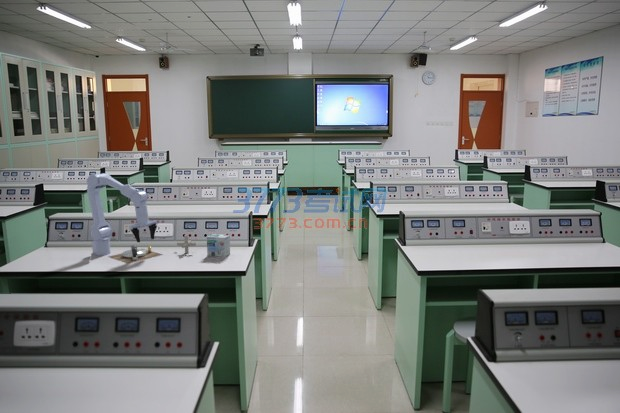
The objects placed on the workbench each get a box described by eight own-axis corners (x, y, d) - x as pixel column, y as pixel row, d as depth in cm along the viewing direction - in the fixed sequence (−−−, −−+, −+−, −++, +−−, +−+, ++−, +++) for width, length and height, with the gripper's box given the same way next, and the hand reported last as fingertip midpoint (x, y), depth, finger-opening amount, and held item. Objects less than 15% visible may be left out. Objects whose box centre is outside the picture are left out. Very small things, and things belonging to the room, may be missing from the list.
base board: (107, 258, 232) (107, 256, 232) (142, 250, 248) (141, 248, 247) (128, 265, 220) (128, 263, 220) (163, 256, 236) (163, 254, 235)
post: (130, 251, 234) (130, 246, 233) (135, 250, 236) (134, 245, 235) (133, 252, 232) (133, 246, 231) (138, 251, 234) (137, 245, 233)
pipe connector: (198, 250, 247) (198, 233, 245) (192, 255, 237) (191, 237, 236) (181, 250, 248) (180, 232, 246) (174, 255, 238) (173, 237, 237)
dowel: (147, 252, 239) (147, 246, 238) (150, 252, 240) (149, 246, 240) (149, 253, 238) (148, 247, 237) (151, 252, 239) (151, 246, 239)
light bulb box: (207, 256, 237) (206, 236, 235) (212, 252, 243) (211, 233, 242) (225, 257, 234) (224, 237, 233) (230, 253, 241) (230, 234, 239)
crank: (122, 253, 237) (121, 243, 236) (146, 250, 242) (145, 241, 241) (122, 261, 223) (121, 250, 222) (147, 258, 227) (147, 248, 226)
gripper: (131, 217, 220) (135, 244, 222) (158, 212, 230) (162, 238, 232) (125, 217, 225) (129, 243, 227) (152, 212, 235) (156, 236, 237)
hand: (145, 240), depth 230 cm, fingers open, 7 cm apart
